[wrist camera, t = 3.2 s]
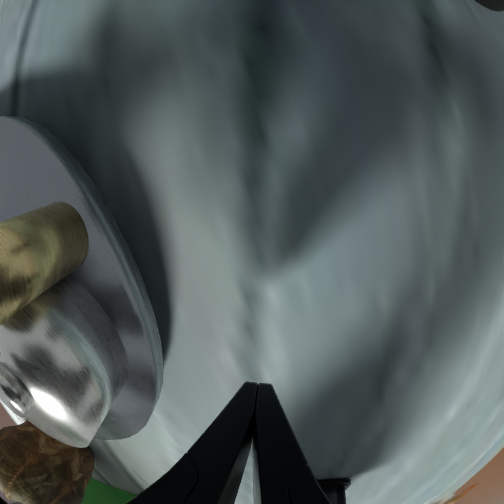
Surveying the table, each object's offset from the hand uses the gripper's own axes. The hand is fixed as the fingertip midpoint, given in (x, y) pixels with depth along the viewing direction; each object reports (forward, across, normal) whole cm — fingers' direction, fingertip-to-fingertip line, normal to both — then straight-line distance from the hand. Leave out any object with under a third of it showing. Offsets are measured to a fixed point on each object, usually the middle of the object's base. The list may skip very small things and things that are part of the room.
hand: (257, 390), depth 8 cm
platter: (+2, +14, 0) cm, 14 cm away
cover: (+1, +8, 0) cm, 9 cm away
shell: (+4, +21, +19) cm, 29 cm away
